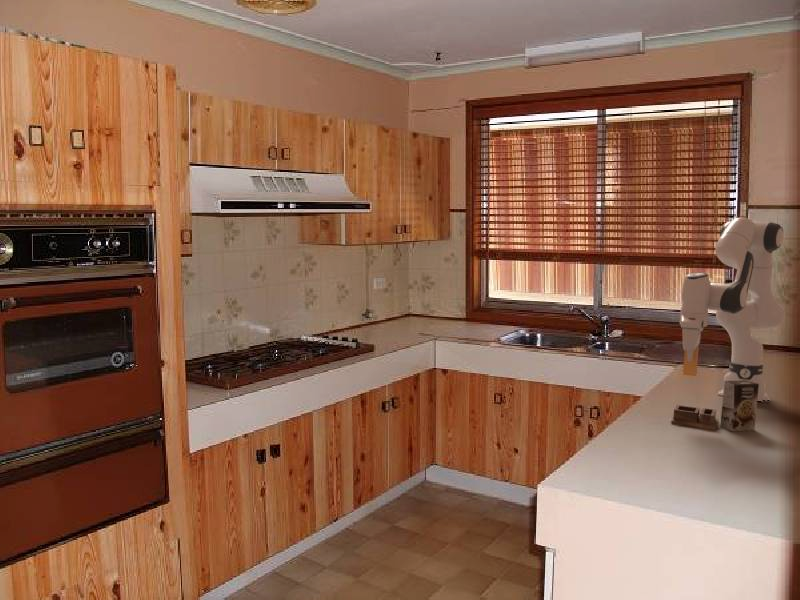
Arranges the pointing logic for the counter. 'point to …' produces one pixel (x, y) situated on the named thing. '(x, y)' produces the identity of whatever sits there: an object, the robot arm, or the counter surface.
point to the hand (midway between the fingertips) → (690, 359)
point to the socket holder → (695, 417)
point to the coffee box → (739, 405)
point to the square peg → (691, 364)
